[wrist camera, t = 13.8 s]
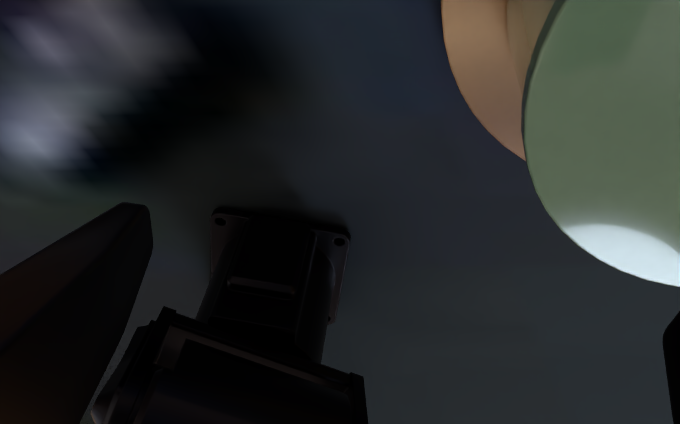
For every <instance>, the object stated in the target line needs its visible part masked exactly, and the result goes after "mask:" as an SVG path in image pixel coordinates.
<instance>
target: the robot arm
mask: <svg viewBox="0 0 680 424" xmlns="http://www.w3.org/2000/svg"><path fill="white" fill-rule="evenodd" d="M219 218H223V219H224V220H221V219H219ZM210 237H211V272H212V278H211V280H210V283H209V285H208V288H207V291H206V293H205V296H204V298H203V301H202V303H201V306H200V308H199V311H198V313H197V316H196V319H192V318H189V317H186V316H183V315H180V314H178V313H176V310H173V309H170V308H168V307H165V306H164V307H163V308H162V310H161V312H160V314H159V316H158V318H157V320H156V321H154V320H151V321H150V323H149V325H146V326H141V327H137V329H136V331H135V333H134V335H133V337H132V339H131V342H130V344H129V346H128V348H127V350H126V352H125V354H124V356H123V358H122V359H121V361H120V363H119V365H118V366H117V368H116V369H115V371H114V372H113V374H112V375H111V377H110V379H109V380H108V382H107V383H106V385H105V386H104V388H103V389H102V391H101V392H100V394H99V395H98V397H97V399H96V401H95V403H94V405H93V408H92V410H91V415H92V418H93V420H94V423H95V424H368V416H367V407H366V398H365V388H364V379H363V376H360V375H357V374H355V373H352V372H351V373H350V374H348V373H345V372H342V371H339V370H337V369H334V368H331V367H328V366H325V365H322V364H321V359H322V353H323V347H324V341H325V335H326V329H327V324H332V323H334V322H335V320H336V314H337V309H338V304H339V298H340V293H341V288H342V282H343V277H344V272H345V267H346V261H347V256H348V251H349V245H350V239H351V236H350V233H349V232H348V231H347V230H345V229H342V228H337V227H331V226H326V225H320V224H314V223H308V222H302V221H296V220H290V219H285V218H279V217H273V216H267V215H261V214H255V213H249V212H243V211H238V210H232V209H226V208H217V209H215V210H214V211H213V213H212V215H211V218H210ZM336 238H341V239H343V240H337V239H336ZM152 249H153V237H152V228H151V220H150V212H149V210H148V208H147V207H146V206H145V205H140V204H134V203H128V202H122V203H119V204H118V205H116V206H114V207H113V208H111V209H109V210H108V211H106V212H104V213H103V214H101V215H99V216H98V217H96V218H94V219H93V220H91V221H89V222H88V223H86V224H84V225H82V226H81V227H79V228H77V229H76V230H74V231H72V232H71V233H69V234H67V235H66V236H64V237H62V238H61V239H59V240H57V241H56V242H54V243H52V244H51V245H49V246H47V247H46V248H44V249H42V250H41V251H39V252H37V253H36V254H34V255H32V256H31V257H29V258H27V259H26V260H24V261H22V262H21V263H19V264H17V265H16V266H14V267H12V268H11V269H9V270H7V271H6V272H4V273H2V274H1V275H0V424H79V423H80V421H81V419H82V417H83V415H84V413H85V411H86V409H87V407H88V405H89V403H90V401H91V399H92V397H93V395H94V392H95V390H96V388H97V386H98V384H99V382H100V380H101V378H102V376H103V374H104V372H105V370H106V368H107V366H108V364H109V362H110V360H111V358H112V356H113V354H114V352H115V350H116V348H117V346H118V344H119V342H120V339H121V337H122V335H123V333H124V330H125V328H126V325H127V322H128V320H129V317H130V314H131V311H132V308H133V305H134V303H135V300H136V297H137V294H138V291H139V288H140V286H141V283H142V280H143V277H144V274H145V271H146V268H147V266H148V263H149V260H150V257H151V254H152ZM663 350H664V358H665V365H666V373H667V380H668V388H669V395H670V402H671V410H672V417H673V422H674V424H680V311H679V313H678V314H677V315H676V316H675V318H674V319H673V320H672V321H671V323H670V324H669V325H668V327H667V328H666V330H665V332H664V335H663Z"/></svg>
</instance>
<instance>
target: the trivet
mask: <svg viewBox="0 0 680 424" xmlns="http://www.w3.org/2000/svg"><path fill="white" fill-rule="evenodd" d="M507 1H508V0H441V15H442V26H443V36H444V43H445V47H446V51H447V56H448V60H449V64H450V68H451V70H452V73H453V75H454V78H455V80H456V83H457V85H458V88H459V90H460V92H461V94H462V95H463V97H464V99H465V101H466V102H467V104H468V106H469V107H470V109H471V111H472V112H473V114H474V115H475V116H476V117H477V119H478V120H479V121H480V122H481V123H482V125H483V126H484V127H485V128H486V130H487V131H488V132H489V133H490V134H492V135H493V136H494V137H495V138H496V139H497V140H498V141H499V142H500V143H501V144H502V145H503V146H505V147H506V148H507V149H509V150H510V151H512V152H513V153H515V154H516V155H518V156H519V157H521V158H522V159H523V160H525V161H526V159H525V154H524V147H523V140H522V133H521V104H522V94H521V90H520V86H519V83H518V79H517V75H516V71H515V68H514V64H513V60H512V57H511V53H510V48H509V41H508V34H507Z"/></svg>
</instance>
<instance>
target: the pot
mask: <svg viewBox="0 0 680 424" xmlns="http://www.w3.org/2000/svg"><path fill="white" fill-rule="evenodd" d="M507 34H508V41H509V48H510V53H511V57H512V60H513V64H514V68H515V71H516V75H517V79H518V83H519V86H520V90H521V94H522V104H521V133H522V140H523V147H524V154H525V159H526V163H527V167H528V170H529V173H530V176H531V179H532V183H533V186H534V189H535V191H536V193H537V195H538V197H539V199H540V201H541V202H542V204H543V206H544V208H545V210H546V212H547V213H548V214H549V215H550V217H551V218H552V219H553V221H554V222H555V223H556V224H557V226H558V227H559V228H560V230H561V231H563V232H564V233H565V234H566V235H567V236H568V237H569V238H570V239H571V240H572V241H573V242H574V243H575V244H576V245H578V246H579V247H580V248H582V249H583V250H585V251H586V252H588V253H589V254H590V255H592V256H593V257H595V258H596V259H598V260H600V261H602V262H604V263H606V264H608V265H610V266H611V267H613V268H615V269H617V270H619V271H622V272H625V273H628V274H630V275H633V276H636V277H639V278H641V279H644V280H648V281H653V282H657V283H661V284H665V285H669V286H676V287H680V0H508V1H507Z"/></svg>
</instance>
